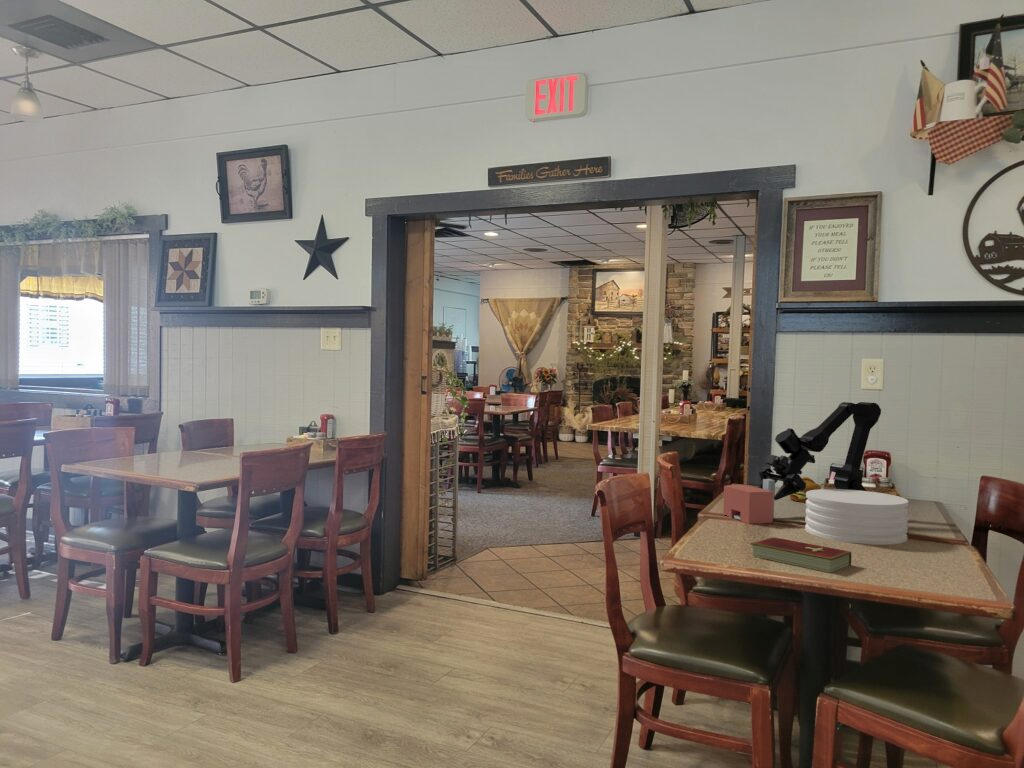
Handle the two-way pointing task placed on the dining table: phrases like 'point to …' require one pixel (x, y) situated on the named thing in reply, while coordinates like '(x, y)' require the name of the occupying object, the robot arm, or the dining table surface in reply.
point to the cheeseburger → (805, 490)
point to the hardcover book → (801, 554)
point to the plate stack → (856, 516)
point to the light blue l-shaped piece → (767, 485)
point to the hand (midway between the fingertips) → (765, 496)
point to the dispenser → (748, 503)
